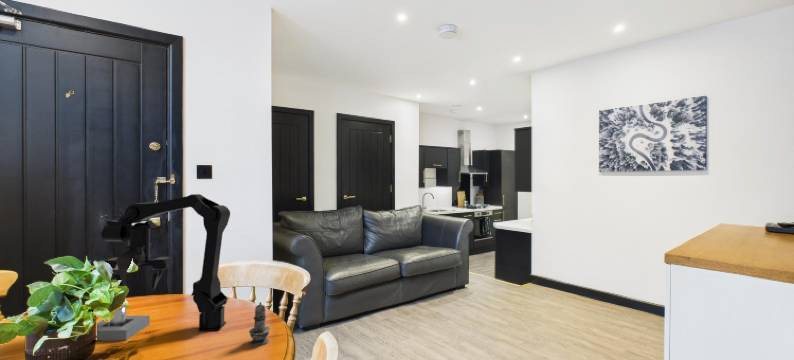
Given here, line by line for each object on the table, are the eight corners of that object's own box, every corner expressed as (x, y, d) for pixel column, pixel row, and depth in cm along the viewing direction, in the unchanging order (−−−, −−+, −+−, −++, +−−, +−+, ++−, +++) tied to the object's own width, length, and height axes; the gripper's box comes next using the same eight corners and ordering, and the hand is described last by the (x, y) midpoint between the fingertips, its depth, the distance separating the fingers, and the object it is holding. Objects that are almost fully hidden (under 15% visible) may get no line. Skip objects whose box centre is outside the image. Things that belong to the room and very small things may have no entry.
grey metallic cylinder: (128, 329, 115) (129, 304, 115) (120, 335, 111) (121, 308, 111) (115, 330, 115) (115, 304, 115) (106, 335, 111) (107, 309, 111)
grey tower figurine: (262, 336, 113) (263, 297, 113) (273, 341, 110) (274, 301, 110) (244, 342, 108) (245, 302, 108) (256, 348, 105) (257, 306, 105)
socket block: (149, 324, 120) (149, 315, 120) (126, 340, 108) (126, 330, 108) (110, 325, 119) (110, 315, 119) (82, 341, 107) (82, 330, 107)
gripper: (90, 246, 110) (89, 298, 110) (157, 245, 112) (156, 296, 112) (114, 240, 121) (113, 287, 121) (174, 239, 123) (173, 286, 123)
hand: (138, 289), depth 119 cm, fingers open, 9 cm apart
